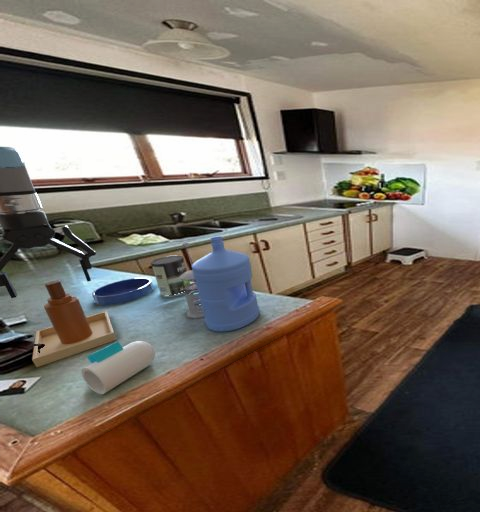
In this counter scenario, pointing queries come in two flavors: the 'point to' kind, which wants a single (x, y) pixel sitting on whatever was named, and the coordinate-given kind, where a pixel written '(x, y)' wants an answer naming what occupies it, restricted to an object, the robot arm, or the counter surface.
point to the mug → (116, 364)
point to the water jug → (225, 288)
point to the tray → (57, 350)
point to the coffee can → (170, 275)
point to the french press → (194, 307)
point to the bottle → (66, 315)
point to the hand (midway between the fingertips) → (54, 287)
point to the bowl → (122, 291)
